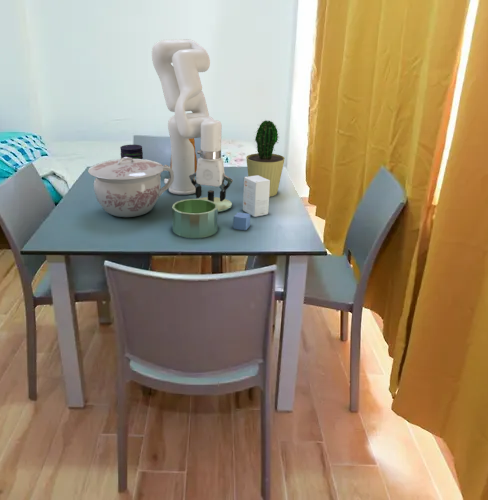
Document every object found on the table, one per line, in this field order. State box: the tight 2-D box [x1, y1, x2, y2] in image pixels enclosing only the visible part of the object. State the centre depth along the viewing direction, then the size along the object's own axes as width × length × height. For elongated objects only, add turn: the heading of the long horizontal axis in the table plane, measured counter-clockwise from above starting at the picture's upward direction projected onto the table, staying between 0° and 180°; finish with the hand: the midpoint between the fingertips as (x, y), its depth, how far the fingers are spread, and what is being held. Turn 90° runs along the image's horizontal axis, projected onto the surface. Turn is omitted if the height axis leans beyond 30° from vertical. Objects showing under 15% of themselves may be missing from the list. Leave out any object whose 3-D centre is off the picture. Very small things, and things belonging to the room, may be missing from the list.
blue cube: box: [232, 212, 251, 231], centre depth 168 cm, size 4×4×4 cm
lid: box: [197, 189, 233, 213], centre depth 187 cm, size 16×16×6 cm
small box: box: [242, 175, 270, 218], centre depth 179 cm, size 8×6×13 cm
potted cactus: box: [245, 119, 286, 198], centre depth 197 cm, size 15×15×30 cm
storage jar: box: [120, 144, 144, 159], centre depth 219 cm, size 10×10×15 cm
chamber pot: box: [87, 157, 174, 218], centre depth 180 cm, size 28×28×21 cm
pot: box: [171, 198, 219, 239], centre depth 165 cm, size 15×15×8 cm
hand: (210, 198), depth 187 cm, fingers open, 9 cm apart
